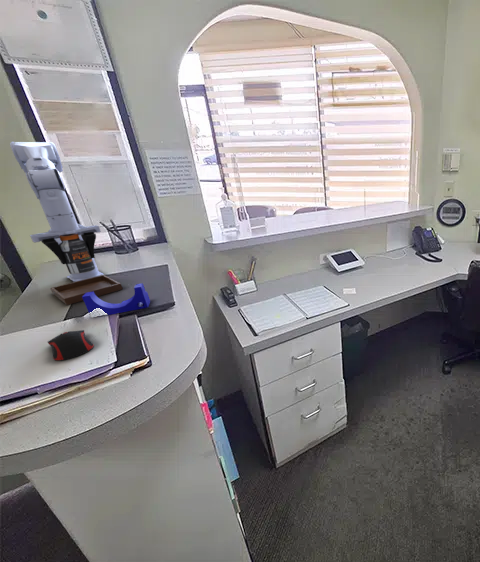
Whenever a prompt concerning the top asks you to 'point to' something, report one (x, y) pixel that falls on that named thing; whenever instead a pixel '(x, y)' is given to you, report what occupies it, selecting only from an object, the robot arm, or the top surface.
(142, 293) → the blue curved cradle
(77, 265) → the pill bottle
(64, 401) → the top surface
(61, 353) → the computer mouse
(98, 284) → the desk tray
